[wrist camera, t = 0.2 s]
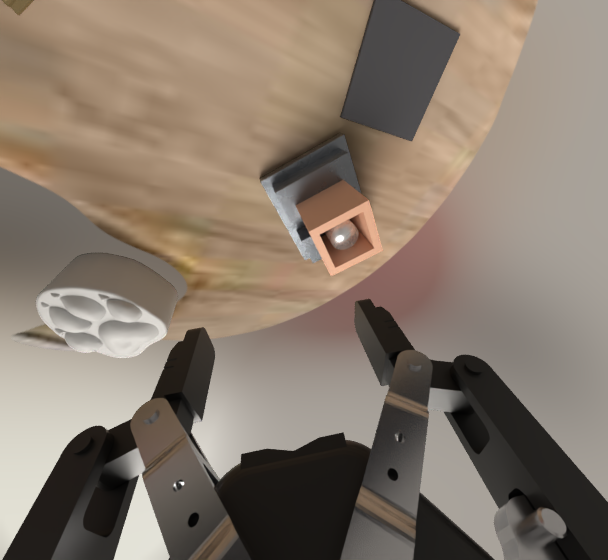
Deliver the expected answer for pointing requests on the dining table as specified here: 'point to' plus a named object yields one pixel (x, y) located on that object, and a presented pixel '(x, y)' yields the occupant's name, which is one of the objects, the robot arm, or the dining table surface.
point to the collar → (333, 211)
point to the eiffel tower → (18, 5)
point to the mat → (397, 68)
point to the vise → (313, 192)
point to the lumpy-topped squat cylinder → (108, 305)
